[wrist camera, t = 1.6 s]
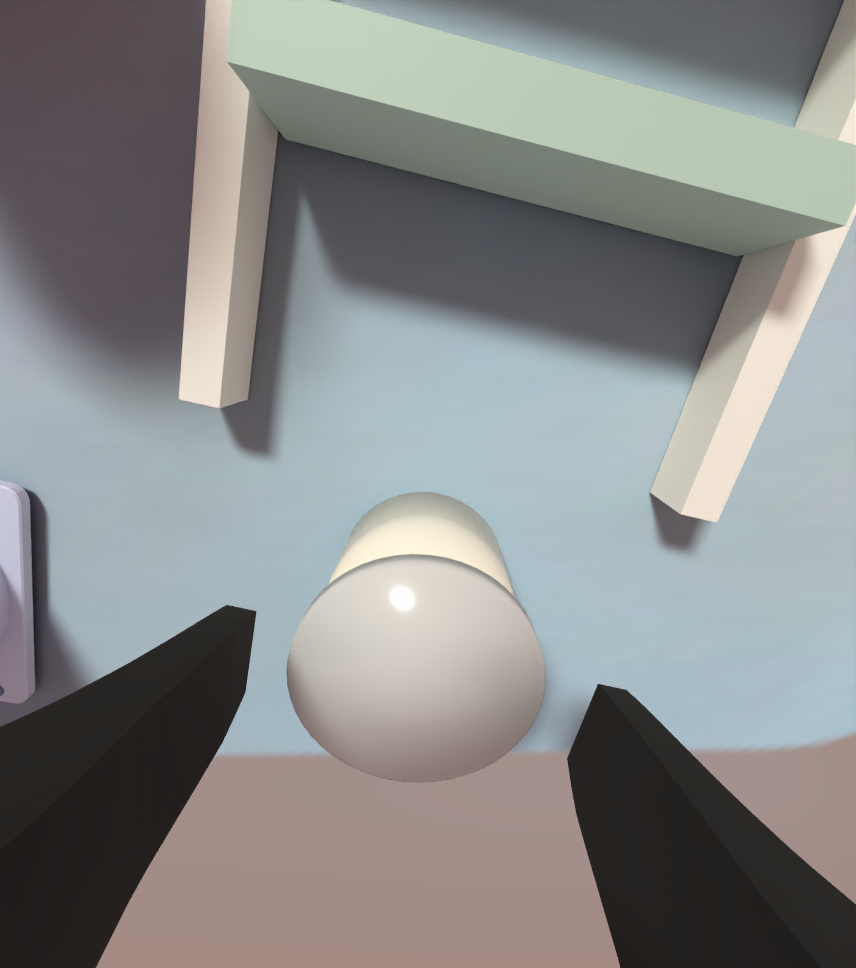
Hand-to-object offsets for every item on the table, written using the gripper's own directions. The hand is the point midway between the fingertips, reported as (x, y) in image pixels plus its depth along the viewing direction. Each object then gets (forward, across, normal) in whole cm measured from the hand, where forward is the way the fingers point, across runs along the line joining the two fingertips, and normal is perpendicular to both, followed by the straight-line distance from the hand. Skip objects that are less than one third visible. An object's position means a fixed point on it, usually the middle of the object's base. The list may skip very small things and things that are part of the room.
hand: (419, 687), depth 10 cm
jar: (+5, 0, 0) cm, 5 cm away
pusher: (+5, 0, -11) cm, 12 cm away
